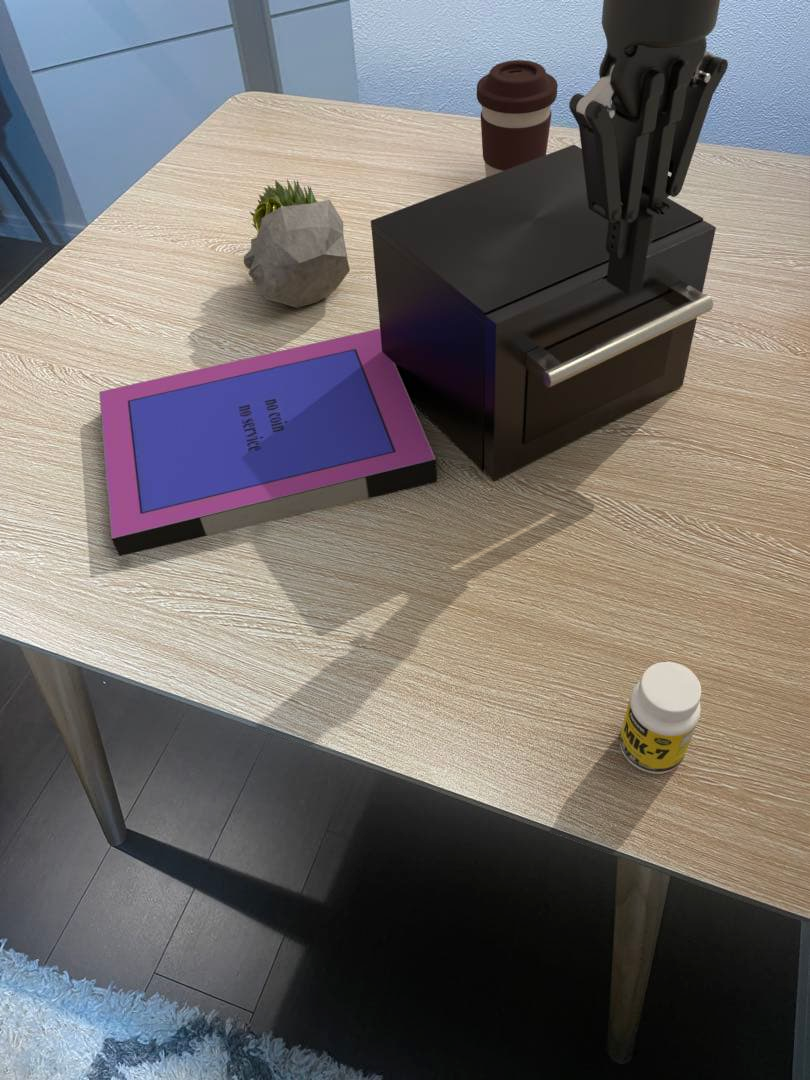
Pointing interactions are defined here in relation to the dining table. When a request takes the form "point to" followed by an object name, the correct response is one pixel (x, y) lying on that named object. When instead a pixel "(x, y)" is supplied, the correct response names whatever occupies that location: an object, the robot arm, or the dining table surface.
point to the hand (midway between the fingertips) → (624, 284)
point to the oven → (481, 276)
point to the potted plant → (296, 247)
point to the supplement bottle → (661, 718)
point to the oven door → (590, 351)
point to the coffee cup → (515, 114)
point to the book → (258, 441)
